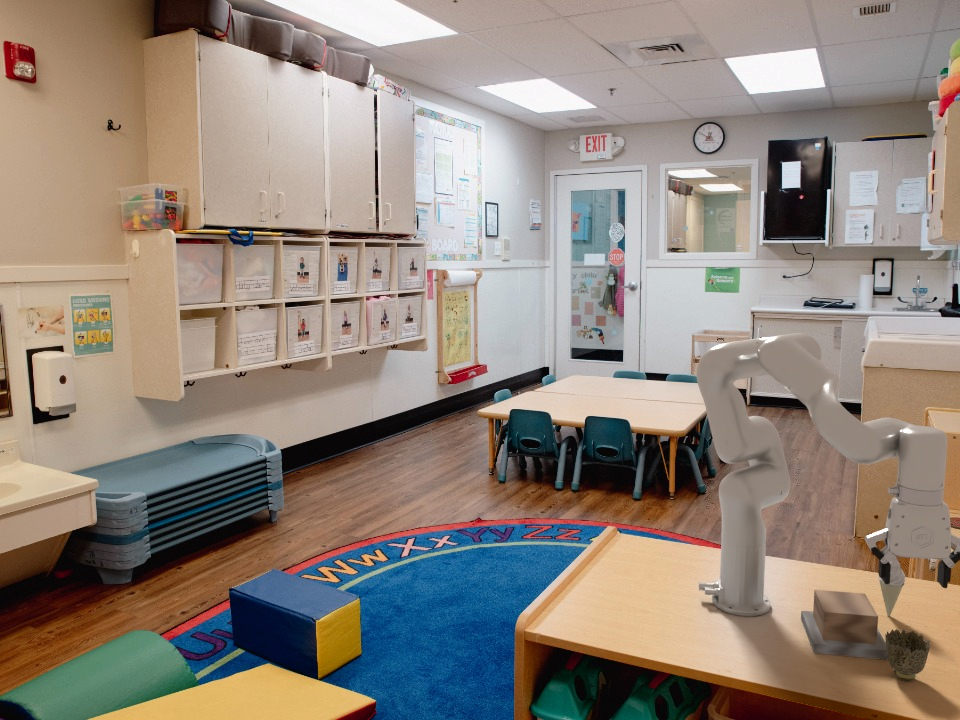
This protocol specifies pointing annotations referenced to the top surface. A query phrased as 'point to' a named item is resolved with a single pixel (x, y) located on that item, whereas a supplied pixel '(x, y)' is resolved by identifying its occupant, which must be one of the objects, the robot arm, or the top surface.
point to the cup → (906, 653)
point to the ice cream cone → (892, 585)
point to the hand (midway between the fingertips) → (913, 583)
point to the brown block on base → (843, 625)
